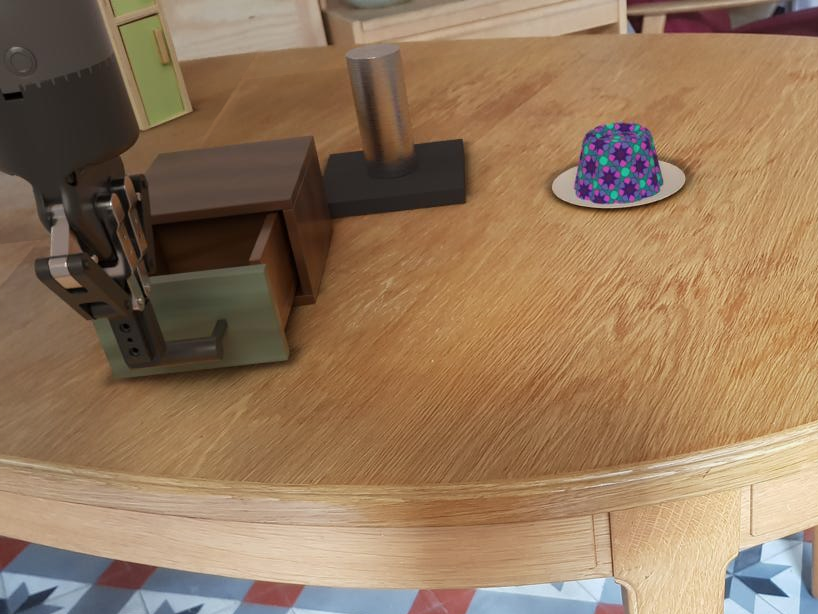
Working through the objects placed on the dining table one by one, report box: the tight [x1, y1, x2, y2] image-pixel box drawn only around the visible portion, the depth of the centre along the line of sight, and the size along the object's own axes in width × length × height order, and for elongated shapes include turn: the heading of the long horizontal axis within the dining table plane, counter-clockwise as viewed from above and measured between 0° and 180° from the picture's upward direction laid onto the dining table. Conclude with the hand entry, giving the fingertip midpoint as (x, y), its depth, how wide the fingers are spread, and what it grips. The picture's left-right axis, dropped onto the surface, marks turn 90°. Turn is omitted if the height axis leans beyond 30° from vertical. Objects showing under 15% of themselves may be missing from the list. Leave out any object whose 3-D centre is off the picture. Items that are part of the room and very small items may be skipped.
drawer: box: [91, 210, 299, 380], centre depth 68 cm, size 18×12×7 cm
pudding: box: [551, 122, 686, 209], centre depth 85 cm, size 12×12×5 cm
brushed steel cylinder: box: [345, 42, 418, 179], centre depth 90 cm, size 5×5×11 cm
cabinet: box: [143, 134, 334, 307], centre depth 78 cm, size 15×14×9 cm
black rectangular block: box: [322, 138, 467, 219], centre depth 93 cm, size 14×14×2 cm
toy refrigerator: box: [97, 0, 194, 131], centre depth 114 cm, size 8×7×21 cm
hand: (148, 361), depth 57 cm, fingers closed
